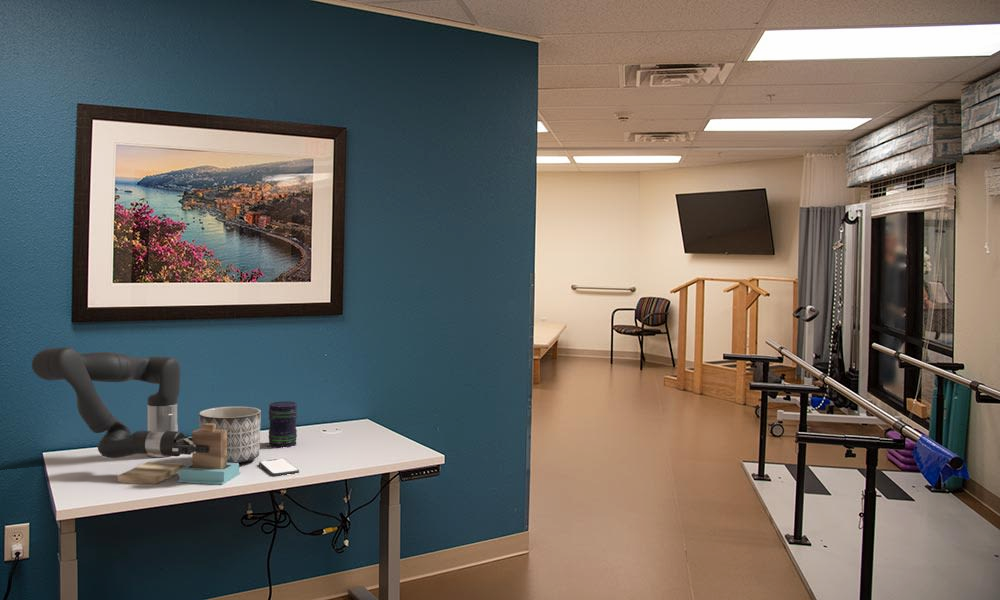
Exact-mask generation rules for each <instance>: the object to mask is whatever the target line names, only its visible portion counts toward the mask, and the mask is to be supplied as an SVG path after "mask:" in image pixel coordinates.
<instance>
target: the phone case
mask: <svg viewBox="0 0 1000 600" xmlns="http://www.w3.org/2000/svg"><path fill="white" fill-rule="evenodd" d="M258 466H259V467H260V468H261V467H262V468H263V469H262V468H261V469H262V470H264V471H265V472H266V473H267V474H269V475H270V476H271V477H283V476H288V475H287V474H291V475H296V474H295V473H298V474H299V473H300V469H298V468H297V467H296V466H295V465H293V464H292V463H291V462H289V461H288V460H287V459H285V458H276V459H275V458H274V459H266V460H261V461H259V463H258ZM282 475H283V476H282Z"/></svg>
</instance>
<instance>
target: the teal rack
mask: <svg viewBox="0 0 1000 600" xmlns="http://www.w3.org/2000/svg"><path fill="white" fill-rule="evenodd" d="M178 474H179V477H178V480H177V483H181V482H186V484H200V483H203V485H205V484H206V485H218V484H221V485H220V486H222V485H225V484H226V483H228V482H229V481H231V480H233V479H234V478H236V477H238V476H239V475H241V472H240V464H239V463H227V468H226V469H204V468H192V462H191V463H190V464H188V465H186V466H185V465H184V467H183V468H181V469H179V473H178ZM237 475H238V476H237ZM232 478H233V479H232ZM227 481H228V482H227Z"/></svg>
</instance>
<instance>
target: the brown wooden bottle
mask: <svg viewBox="0 0 1000 600" xmlns="http://www.w3.org/2000/svg"><path fill="white" fill-rule="evenodd" d="M191 434H192V436H191V437H192V441H193V443H194V444H196V446H197V445H209V446H210V451H209V452H208V453H197V452H196V453H191V455H192V457H191V458H192V459H191V460H192V461H191V463H192V468H204V469H226V468H227V430H218V429H216V424H212V423H206V424H204V429H200V428H198V429H197V428H196V429H195V430H193V431H192V433H191Z"/></svg>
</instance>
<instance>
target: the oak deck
mask: <svg viewBox="0 0 1000 600" xmlns="http://www.w3.org/2000/svg"><path fill="white" fill-rule="evenodd" d="M183 467H185V463H179V462H178V463H176V462H174V463H173V462H158V461H157V462H155V461H147V462H145V463H142V464H140V465H138V466H136V467H134V468H132V469H129V470H127V471H125V472H122V473H120V474H118V475H117V482H118V483H126V482H127V484H142V483H149V484H148V485H157V483H158V484H160V483H161V481H162V482H164V481H165V480H164V479H166V480H167V479H169V478H171V477H174V476H175V475H177V474H179V469H181V468H183ZM163 480H164V481H163ZM159 482H160V483H159ZM150 483H151V484H150Z"/></svg>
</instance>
